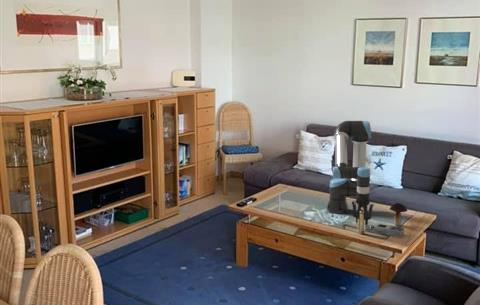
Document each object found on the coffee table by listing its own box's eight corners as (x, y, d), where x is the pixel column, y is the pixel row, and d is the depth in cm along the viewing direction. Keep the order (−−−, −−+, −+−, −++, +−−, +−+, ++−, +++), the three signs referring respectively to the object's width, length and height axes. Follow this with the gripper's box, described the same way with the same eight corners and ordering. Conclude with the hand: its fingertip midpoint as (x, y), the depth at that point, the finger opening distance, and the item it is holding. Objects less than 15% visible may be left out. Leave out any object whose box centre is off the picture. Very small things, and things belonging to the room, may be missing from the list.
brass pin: (357, 234, 307) (357, 211, 304) (359, 231, 310) (360, 209, 307) (363, 235, 305) (364, 212, 302) (365, 233, 308) (366, 210, 305)
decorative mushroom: (386, 222, 326) (387, 201, 323) (402, 222, 327) (403, 200, 324) (392, 228, 315) (393, 206, 312) (409, 228, 316) (410, 205, 313)
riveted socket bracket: (360, 230, 313) (360, 223, 312) (364, 226, 319) (364, 220, 318) (400, 237, 300) (401, 230, 299) (404, 234, 306) (404, 227, 305)
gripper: (348, 192, 304) (346, 228, 308) (374, 196, 295) (372, 233, 300) (352, 189, 310) (351, 224, 314) (378, 192, 301) (376, 229, 306)
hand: (361, 228), depth 307 cm, fingers closed on brass pin, 3 cm apart
